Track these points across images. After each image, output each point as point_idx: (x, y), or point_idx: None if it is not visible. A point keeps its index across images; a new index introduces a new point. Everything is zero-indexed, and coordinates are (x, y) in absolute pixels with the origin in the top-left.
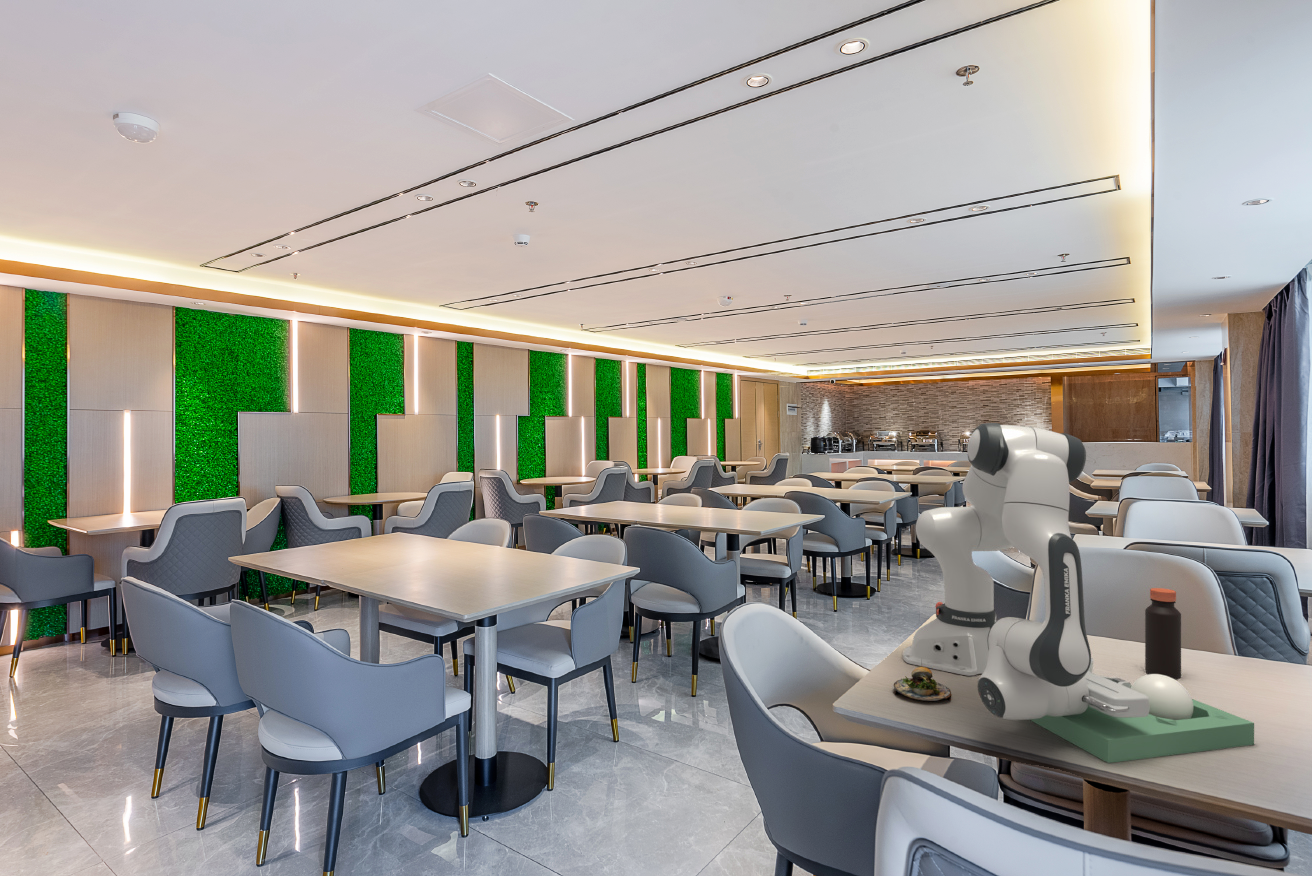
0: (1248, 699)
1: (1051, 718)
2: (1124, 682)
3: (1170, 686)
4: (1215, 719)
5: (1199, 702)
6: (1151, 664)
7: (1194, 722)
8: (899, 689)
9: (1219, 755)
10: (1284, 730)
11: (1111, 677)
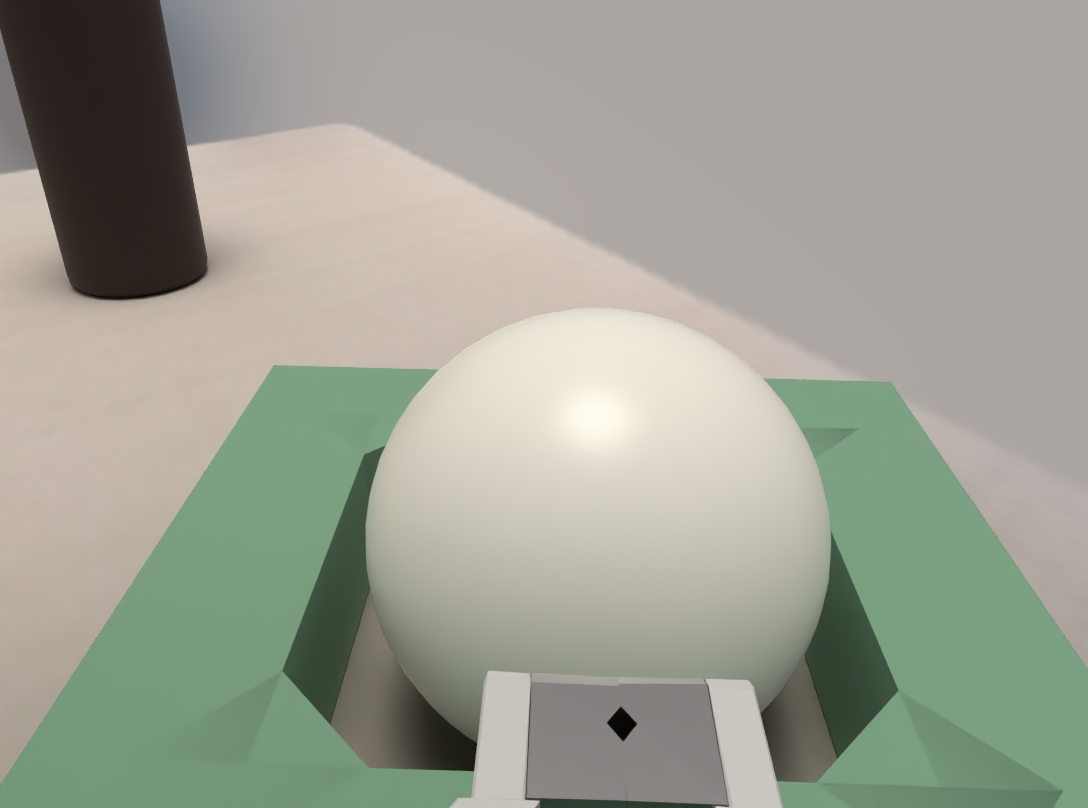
0: (452, 257)
1: None
2: (766, 768)
3: (756, 403)
4: (854, 473)
5: None
6: (99, 247)
7: (933, 605)
8: None
9: None
10: (713, 334)
11: (485, 771)
